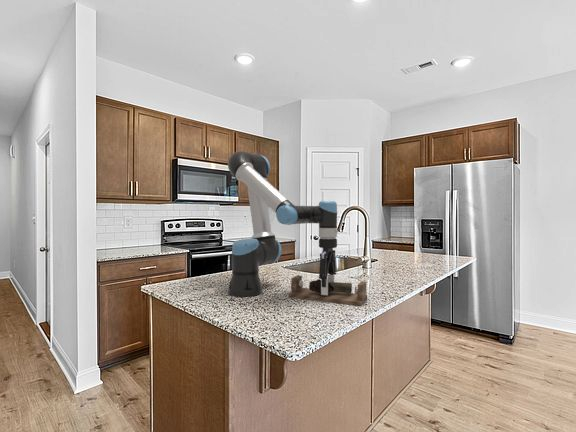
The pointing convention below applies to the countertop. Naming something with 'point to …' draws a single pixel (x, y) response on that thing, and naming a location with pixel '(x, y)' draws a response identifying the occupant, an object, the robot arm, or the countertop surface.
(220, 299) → the countertop surface
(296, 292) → the shaft stand
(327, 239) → the robot arm
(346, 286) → the lumpy brown club
